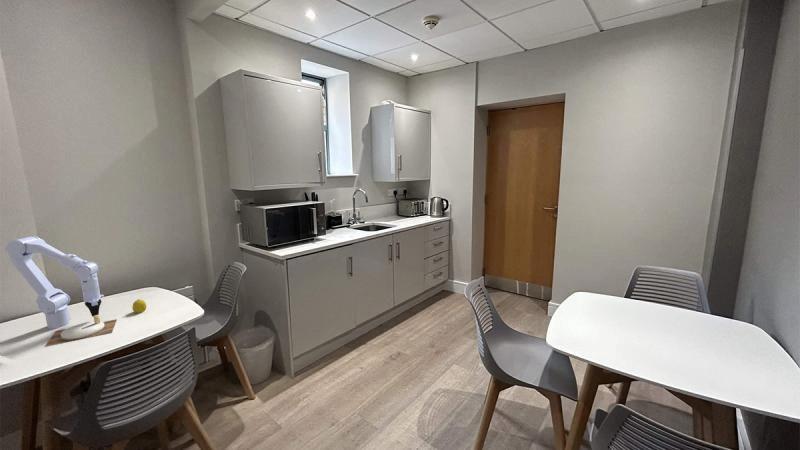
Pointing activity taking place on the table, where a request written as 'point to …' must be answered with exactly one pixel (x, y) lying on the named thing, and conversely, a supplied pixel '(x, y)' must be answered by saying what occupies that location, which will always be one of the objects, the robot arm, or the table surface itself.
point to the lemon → (139, 306)
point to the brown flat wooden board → (58, 340)
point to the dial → (83, 329)
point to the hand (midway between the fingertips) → (95, 315)
